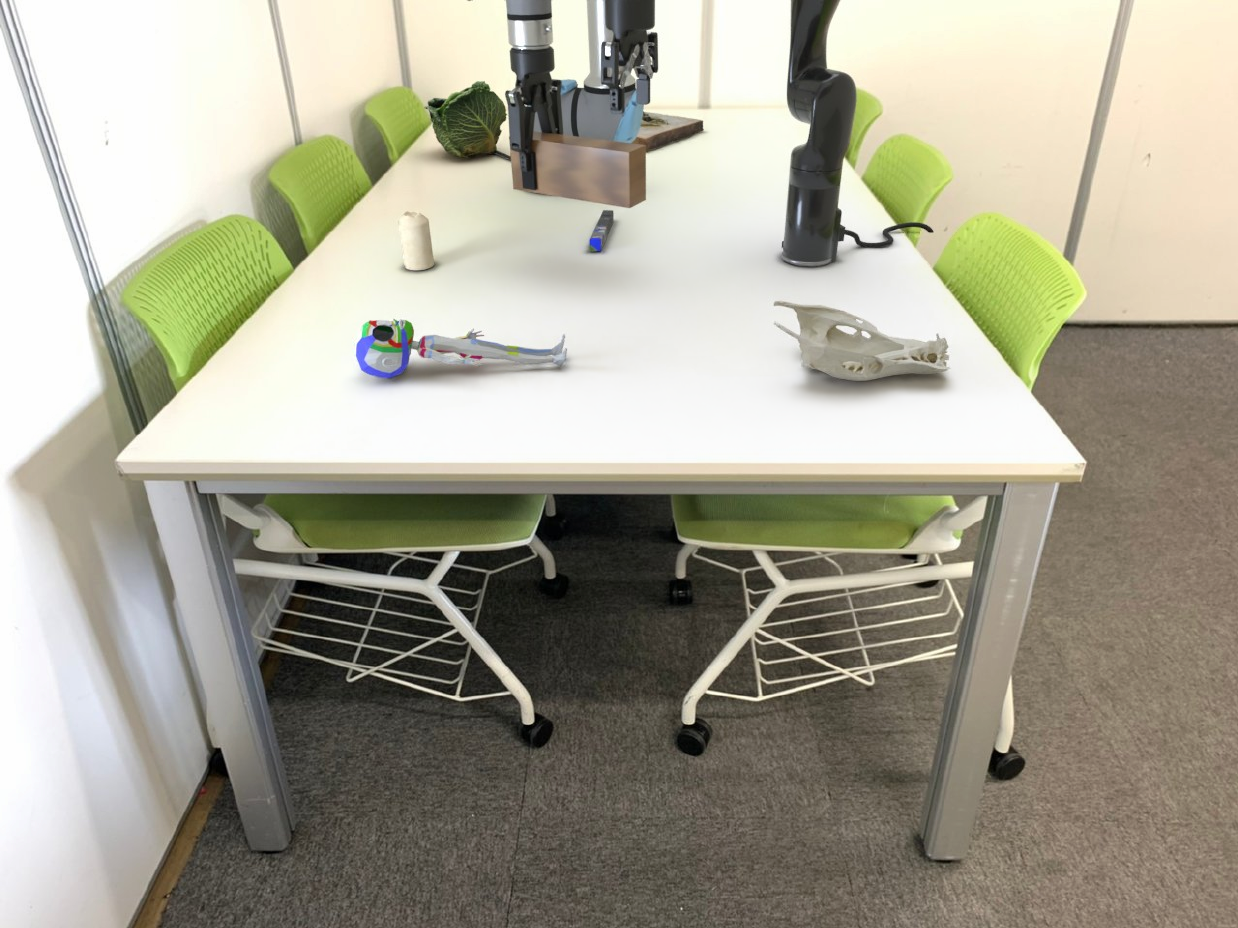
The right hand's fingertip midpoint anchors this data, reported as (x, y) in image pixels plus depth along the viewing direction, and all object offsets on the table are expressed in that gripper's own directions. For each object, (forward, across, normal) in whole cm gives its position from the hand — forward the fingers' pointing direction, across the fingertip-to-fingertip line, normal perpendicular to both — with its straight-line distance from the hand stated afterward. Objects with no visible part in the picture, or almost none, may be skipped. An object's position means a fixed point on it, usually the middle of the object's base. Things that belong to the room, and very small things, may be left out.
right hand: (630, 108), depth 142 cm
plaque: (+30, +105, +57) cm, 123 cm away
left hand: (+16, +6, +22) cm, 28 cm away
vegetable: (+30, +65, +85) cm, 112 cm away
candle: (+30, -9, +41) cm, 52 cm away
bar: (+17, +5, +14) cm, 22 cm away
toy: (+30, -40, +6) cm, 50 cm away
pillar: (+30, +22, +19) cm, 42 cm away
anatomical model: (+30, -14, -44) cm, 55 cm away
